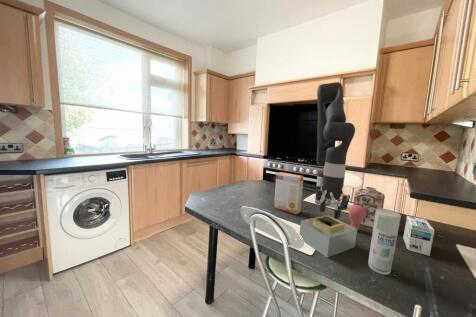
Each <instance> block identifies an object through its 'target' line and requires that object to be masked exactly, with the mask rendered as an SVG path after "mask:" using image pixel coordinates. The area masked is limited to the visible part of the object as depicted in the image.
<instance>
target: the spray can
mask: <svg viewBox="0 0 476 317" xmlns="http://www.w3.org/2000/svg"><path fill="white" fill-rule="evenodd" d="M401 217H402V216H401V213H399V212H397V211H394V210H391V209H388V208H383V209H382V208H379V209H376V212H375V219H374V226H373V228H372V234H371V239H370V241H371V242H370V248H369V254H368V262H367V263H368V264H367V265H368V267H369V268H370V269H371V270H372V271H373V272H376V273H377V274H381V275H385V276H386V275H390V273H391V271H392V267H393V266H392V265H393V260H394V255H395V250H396V245H397V239H398V233H399V228H400V222H401Z"/></svg>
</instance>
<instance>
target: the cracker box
mask: <svg viewBox="0 0 476 317" xmlns="http://www.w3.org/2000/svg"><path fill="white" fill-rule="evenodd" d="M304 177H305V176H304V175H299V174H293V173H287V172H282V171H281V172H277V173H276V174H275V190H274V202H273V209H276V210H280V211H283V212H287V213H290V214H293V215H295V216H296V215H299V214H300V213H301V210H302V197H303V188H304V186H303V185H304Z"/></svg>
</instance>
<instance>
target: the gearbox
mask: <svg viewBox="0 0 476 317" xmlns="http://www.w3.org/2000/svg"><path fill="white" fill-rule="evenodd" d="M357 233H358V230H357V229H356V228H354V227H352V226H350V224H347V223H345V222H344V221H341V220H339V219H335V218H334V216H331V215H329V214H324V215H319V216H316V217H312V218H311V217H310V218H307V219H303V220H300V225H299V234H300V235H301V236H302V238H303V240H304V241H303V240H302V241H303V243H306V244H307V245H308V246H310V247H311V248H312V249H314V250H315V251H316V252H319V254H321V255H322V256H323V257H326V258H330V257H333V256H335V255H338V254H340V253H344V252H346V251H349V250H351V249H353V248H355V247H356V239H357Z"/></svg>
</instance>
